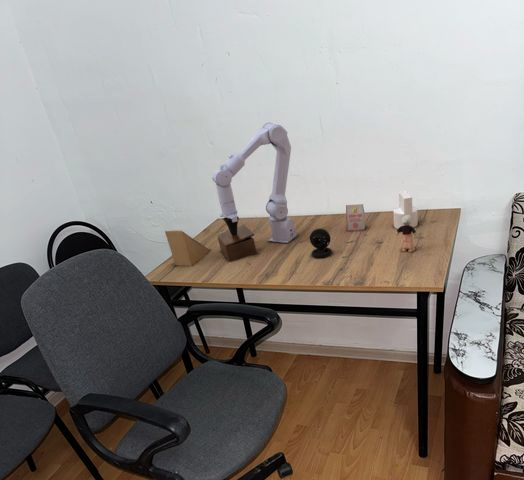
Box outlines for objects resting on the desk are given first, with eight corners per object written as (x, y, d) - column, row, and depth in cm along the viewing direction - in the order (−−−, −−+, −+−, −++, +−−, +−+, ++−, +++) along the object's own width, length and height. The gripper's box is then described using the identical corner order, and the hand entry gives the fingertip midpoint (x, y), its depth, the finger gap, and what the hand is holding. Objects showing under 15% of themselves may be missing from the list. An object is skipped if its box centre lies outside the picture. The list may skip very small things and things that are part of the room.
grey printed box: (348, 227, 195) (346, 203, 189) (365, 226, 192) (363, 202, 187) (347, 230, 192) (345, 206, 186) (363, 230, 189) (362, 205, 184)
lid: (244, 225, 197) (244, 224, 196) (254, 235, 186) (253, 233, 185) (217, 236, 195) (217, 235, 195) (226, 246, 184) (225, 245, 184)
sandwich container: (211, 249, 202) (202, 215, 193) (192, 265, 191) (182, 230, 183) (194, 249, 206) (185, 216, 197) (175, 265, 195) (164, 230, 187)
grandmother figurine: (418, 247, 167) (419, 213, 160) (417, 252, 165) (417, 217, 158) (396, 247, 171) (396, 213, 164) (394, 252, 168) (393, 217, 161)
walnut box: (246, 243, 201) (243, 229, 197) (256, 253, 190) (253, 238, 186) (221, 250, 199) (217, 236, 195) (229, 261, 188) (225, 247, 184)
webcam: (309, 258, 176) (306, 233, 171) (314, 250, 182) (311, 225, 176) (329, 258, 174) (326, 232, 168) (334, 249, 179) (331, 224, 174)
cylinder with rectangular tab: (420, 226, 182) (420, 196, 176) (396, 230, 183) (396, 200, 176) (414, 219, 190) (414, 189, 183) (391, 222, 191) (390, 193, 184)
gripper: (212, 199, 188) (220, 232, 195) (221, 208, 176) (229, 242, 183) (229, 195, 189) (236, 227, 196) (239, 203, 177) (246, 237, 185)
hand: (234, 234), depth 190 cm, fingers closed, pressing on lid
